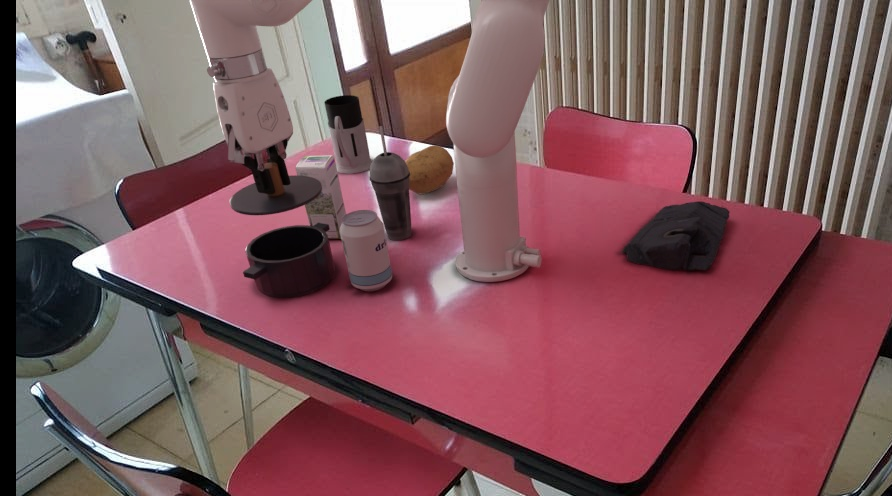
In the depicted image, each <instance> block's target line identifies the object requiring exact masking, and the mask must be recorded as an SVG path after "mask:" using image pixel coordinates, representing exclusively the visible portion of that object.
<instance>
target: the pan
mask: <svg viewBox="0 0 892 496" xmlns="http://www.w3.org/2000/svg"><path fill="white" fill-rule="evenodd" d="M328 230H330V228H329V224H323V223H317V224H315V225H314V226H310V224H308V225H304V224H297V225H296V224H295V225H288V226H287V225H286V226H281V227H277V228H273V229H271V230H269V231H266V232H263V233H261V234H260V235H257V236H256V237H254V238H253V239H252V240H250V242H249V243H248V244H247V245H246V248H245V250H244V251H245V255H246V258H247V261H248V265H249V267H247V268H246V269H245V270H243V271H242V274H243V277H244V278H246V279H251V280H254V283H255V286H256V289H257V290H258V292H259V293H261V294H262V295H264V296H267V297H270V298H277V299H288V298H290V299H291V298H297V297H301V296H306V295H309V294H312V293H314V292H316V291H319V290H321V289H323V288H324V287H326V286H327V285H328V284H330V283H331V281H333V279H334V278H335V275H336V265H335V261H334V256H333V252H332V247H331V243H330V239H328V235H327V234H326V232H327V231H328Z"/></svg>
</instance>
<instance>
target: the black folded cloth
mask: <svg viewBox="0 0 892 496" xmlns="http://www.w3.org/2000/svg"><path fill="white" fill-rule="evenodd" d="M729 218H730V210H729V208H727V207H723V206H719V205H716V204H711V203H710V202H705V201H702V200H701V201H690V202H685V203H681V204H670V205H665V206H663V207H662V208H661V209H659V211H658V212H657V213H656V214H655V215H654V217H653V218H651V219H650V220H649V221H648V223H646V224H645V225H643V227H642V228H640V229H639V231H638V232H637V233H635V235H634V236H633V237H632V238H631V239H630V241H629V242H628V243H627V244H626V245H625V246H624V247H623V248H622V251H621V253H622V254H623V255H625V256H626V260H627V262H629V263H633V264H637V265H646V266H650V267H653V268H658V269H661V270H665V271H666V270H667V271H675V272H679V271H688V272H692V271H697V270H700V271H708V270H710V269H711V267H712V266H713V263H714V261H715V260H716V256H717V255H718V251H719V249H720V245H721V242H722V241H723V237H724V235H725V230H726V226H727V221H728V220H729Z"/></svg>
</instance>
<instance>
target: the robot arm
mask: <svg viewBox="0 0 892 496" xmlns="http://www.w3.org/2000/svg"><path fill="white" fill-rule="evenodd" d="M312 1H313V0H189V3H190V6H191V9H192V12H193V16H194V20H195V23H196V26H197V29H198V32H199V35H200V38H201V42H202V45H203V48H204V50H205V54H206V56H207V60H208V63H209V66H208V67H207V68H206V72H207V74H208V76H209V77H210V78H213V79H214V82H213V83H212V85H213V86H212V88H213V96H214V100H215V101H214V102H215V106H216V111H217V115H218V121H219V124H220V127H221V130H222V134H223V137H224V140H225V143H226V145H227V147H228V148H227V149H228V151H227V160H228V162H229V163H234V164H240V165H242V166H244V167H245V168H246V169H247V170H250V171H251V174H252V177H253V180H254V183H255V184H256V187H257V190H258V192H259V193H264V194H271V195H272V194H274V193H275V188H274V185H273V181H272V178H271V174H270V171H269V169H266V168H265V165H264V164H265V161H264V157H263V151H265V150H266V154H267V155H268V158H266V163H270V162H274V163H277V165H278V169H279V172H280V176H281V179H282V183H283V185H289V184H291V182H290V179H289V176H290V175H289V172H288V168H287V165H286V159H287V156H288V155H287V152H286V150H287V148H288V143H289V141H290V140H291V138H292V136H293V134H294V126H293V122H292V117H291V114H290V111H289V107H288V105H287V102H286V99H285V96H284V93H283V91H282V88H281V86H280V83H279V81H278V79H277V77H276V75H275V73H274V72H273V69H272V68H269V67H268V65H267V61H266V58H265V54H264V50H263V47H262V44H261V40H260V35H259V31H258V28H257V27H270V28H271V27H279V26H283V25H286V24H288V22H290V21H291V20H292V19H293V18H295V17H296V16H297V14H299V13H300V12H302V11H303V10H304V9H305V8H306V7H307V6H308V5H309V4H311V2H312ZM549 3H550V0H481V2H480V4H479V6H478V8H477V11H476V13H475V15H474V17H473V22H472V28H471V34H470V35H471V36H470V39H469V42H468V45H467V48H466V53H465V55H464V59H463V62H462V65H461V69H460V71H459V74H458V76H457V77H456V78H455V79H454V81H453V83H452V85H451V86H450V90H449V92H448V97H447V106H446V113H445V114H446V115H445V124H446V130H447V133H448V136H449V138H450V141H451V142H452V147H453V156H454V167H455V168H454V169H455V175H456V187H457V195H458V204H459V205H458V206H459V214H460V224H461V235H462V243H463V250H462V251H461V252H460V253H459V254H458V255H457V257H456V260H455V264H456V265H455V266H456V270H457V272H458V273H459V274H460V275H461V276H463V277H464V278H467V279H469V280H472V281H475V282H482V283H496V282H497V283H498V282H503V281H507V280H511V279H514V278H517V277H518V276H520V275H523V273H525V272H526V271H527V270H528V268H529V267H532V268H538V269H539V268H540V267H541V265H542V261H543V260H542V259H543V257H542V256H541V254H542V253H541V252H542V251H541V249H539V248H534V247H533V248H530V247H529V246H528V245H527V238H526V237H525V236H521V232H520V231H521V229H520V228H521V227H520V212H519V210H520V209H519V193H518V169H517V168H518V166H517V165H518V164H517V147H516V132H515V131H516V129H517V126H518V125H519V121H520V119H521V116H522V113H523V111H524V109H525V106H526V103H527V101H528V98H529V95H530V94H531V91H532V88H533V85H534V82H535V80H536V77H537V75H538V71H539V70H540V66H541V62H542V59H543V55H544V52H545V46H546V44H545V43H546V36H545V35H546V34H545V29H544V19H545V15H546V12H547V9H548V6H549Z"/></svg>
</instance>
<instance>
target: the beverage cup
mask: <svg viewBox="0 0 892 496" xmlns="http://www.w3.org/2000/svg"><path fill="white" fill-rule="evenodd" d="M379 133H380V138H381V144H382V149H383V152H382V153H379V154H378V155H376V156H375V157H374V159H373V160H371V161H372V163H371V166H370V169H369V181H370V183H371V186H372V189H373V191H374V193H375V198H376V200H377V204H378V209H379V212H380V216H381V219H382V223H383V226H384V231H385V234H386V236H387V238H388V239H389V240H392V241H404V240H406V239H409V238H410V237H411V236H412V215H411V200H410V198H411V197H410V190H409V182H410V177H409V176H410V172H409V170H408V167H407V164H406V163H405V161H406V160H404V159H403V157H401V156H400V155H399V154H397V153H395V152H392V151H391V152H390V151H388V149H387V145H386V144H387V143H386V139H385V134H384V133H385V132H384V129H383V126H382V125H380V126H379Z"/></svg>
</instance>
